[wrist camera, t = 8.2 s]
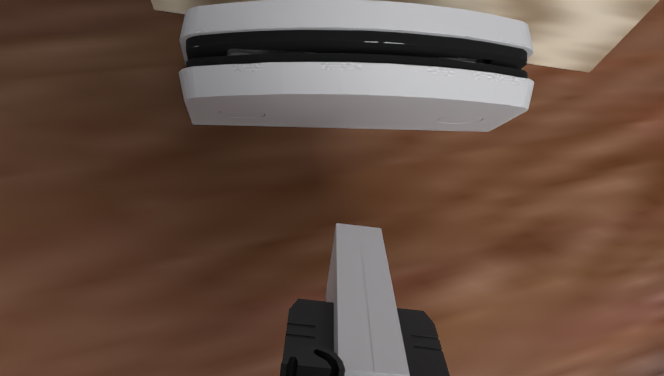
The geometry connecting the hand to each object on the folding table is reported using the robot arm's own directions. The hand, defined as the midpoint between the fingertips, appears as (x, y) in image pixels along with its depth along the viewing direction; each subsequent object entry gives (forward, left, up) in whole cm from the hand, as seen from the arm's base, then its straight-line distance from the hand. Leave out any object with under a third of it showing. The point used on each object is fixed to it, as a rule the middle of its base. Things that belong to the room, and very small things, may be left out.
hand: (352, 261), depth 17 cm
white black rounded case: (0, +10, -8) cm, 13 cm away
